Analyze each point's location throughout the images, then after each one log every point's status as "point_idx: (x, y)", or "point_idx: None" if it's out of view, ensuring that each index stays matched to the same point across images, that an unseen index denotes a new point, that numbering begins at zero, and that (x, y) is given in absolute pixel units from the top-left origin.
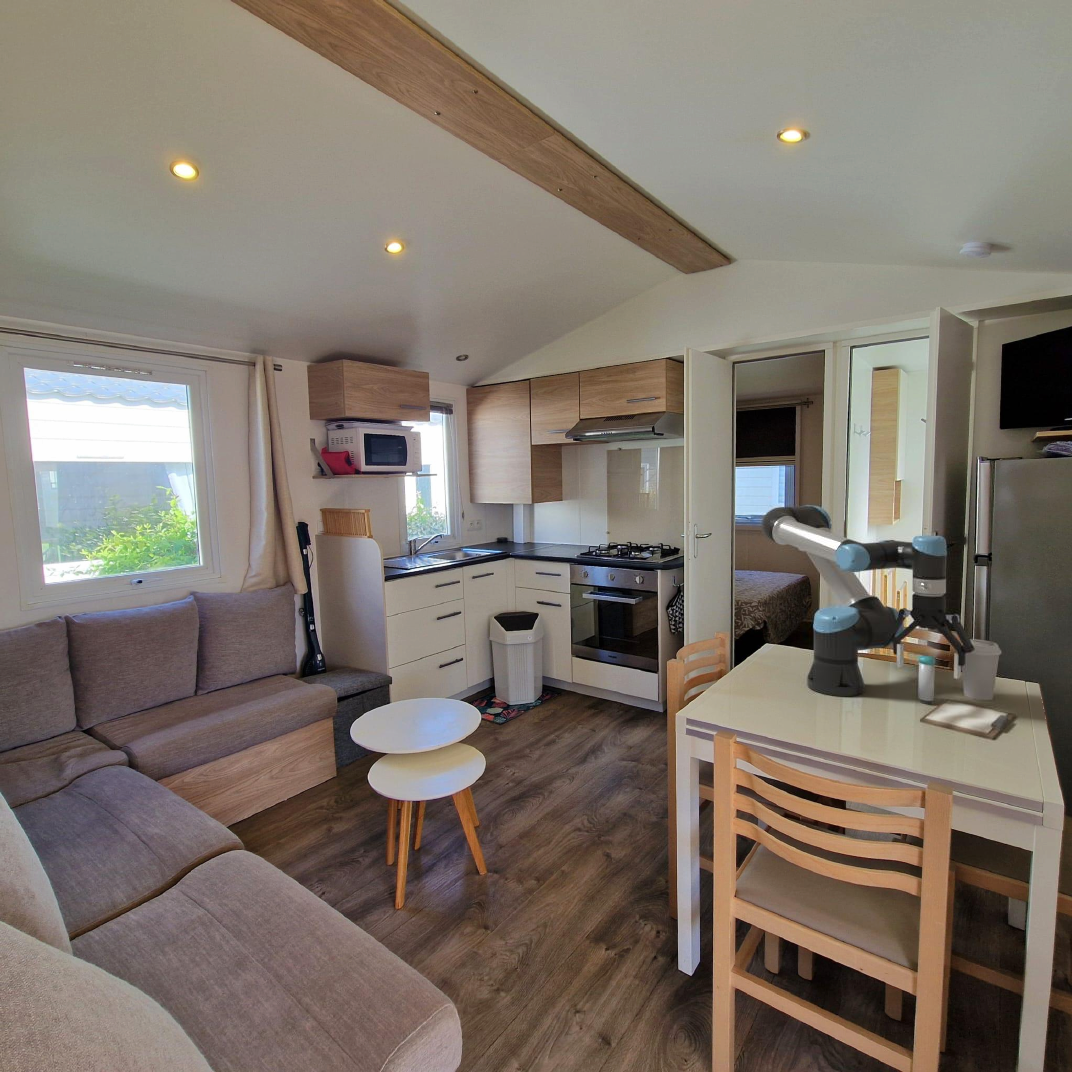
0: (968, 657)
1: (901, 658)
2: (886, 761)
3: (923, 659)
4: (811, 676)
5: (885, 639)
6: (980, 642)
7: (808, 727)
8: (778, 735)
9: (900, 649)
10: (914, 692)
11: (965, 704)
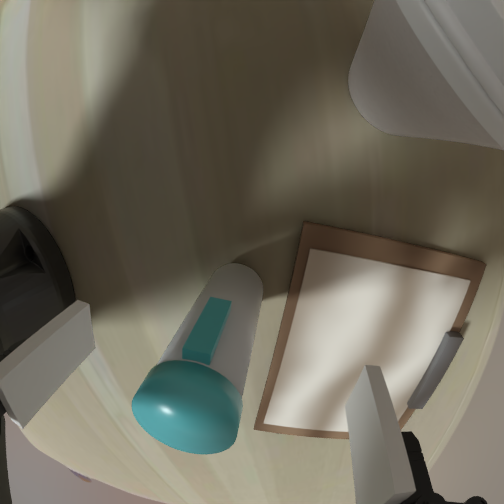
0: (466, 118)
1: (65, 355)
2: None
3: (178, 445)
4: None
5: None
6: None
7: (124, 471)
8: (120, 486)
9: (36, 403)
10: (179, 177)
11: (368, 263)
